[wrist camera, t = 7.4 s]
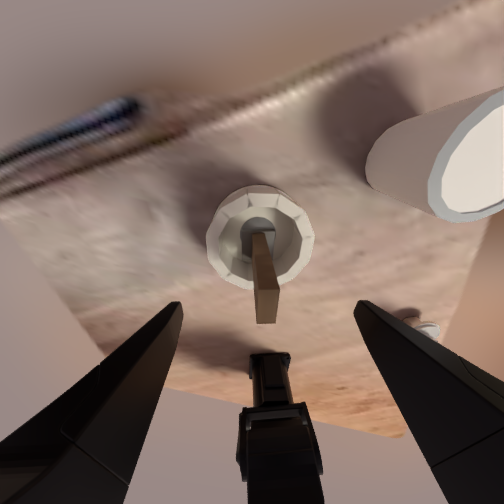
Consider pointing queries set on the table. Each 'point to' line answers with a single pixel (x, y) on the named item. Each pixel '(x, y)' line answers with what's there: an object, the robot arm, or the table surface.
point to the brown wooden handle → (262, 272)
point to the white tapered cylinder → (445, 159)
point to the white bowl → (259, 217)
